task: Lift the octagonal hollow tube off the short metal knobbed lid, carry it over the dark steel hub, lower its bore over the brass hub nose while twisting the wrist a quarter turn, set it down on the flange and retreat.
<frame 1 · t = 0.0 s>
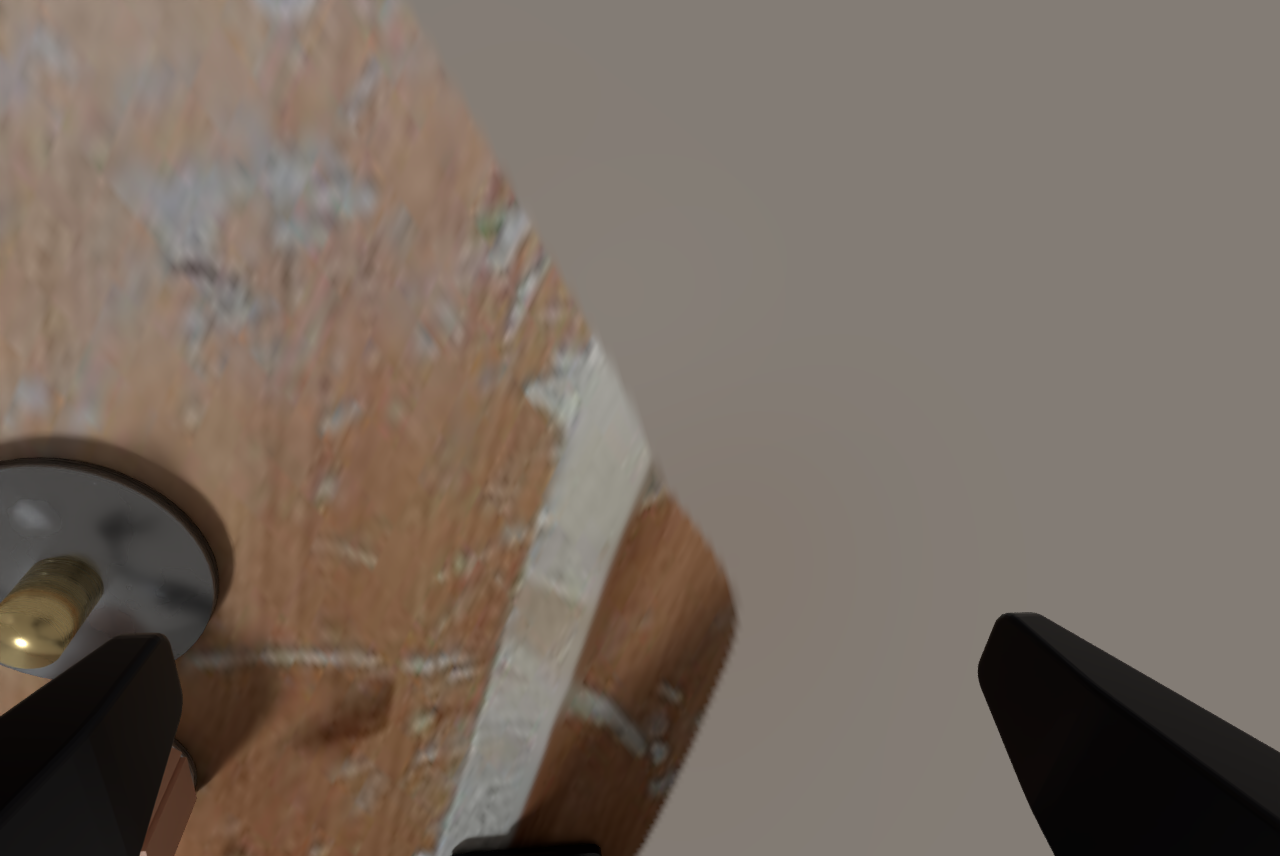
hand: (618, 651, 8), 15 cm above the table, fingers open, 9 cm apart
hub: (75, 571, 23), on the table
octagonal hollow tube: (99, 783, 27), resting on metal knobbed lid
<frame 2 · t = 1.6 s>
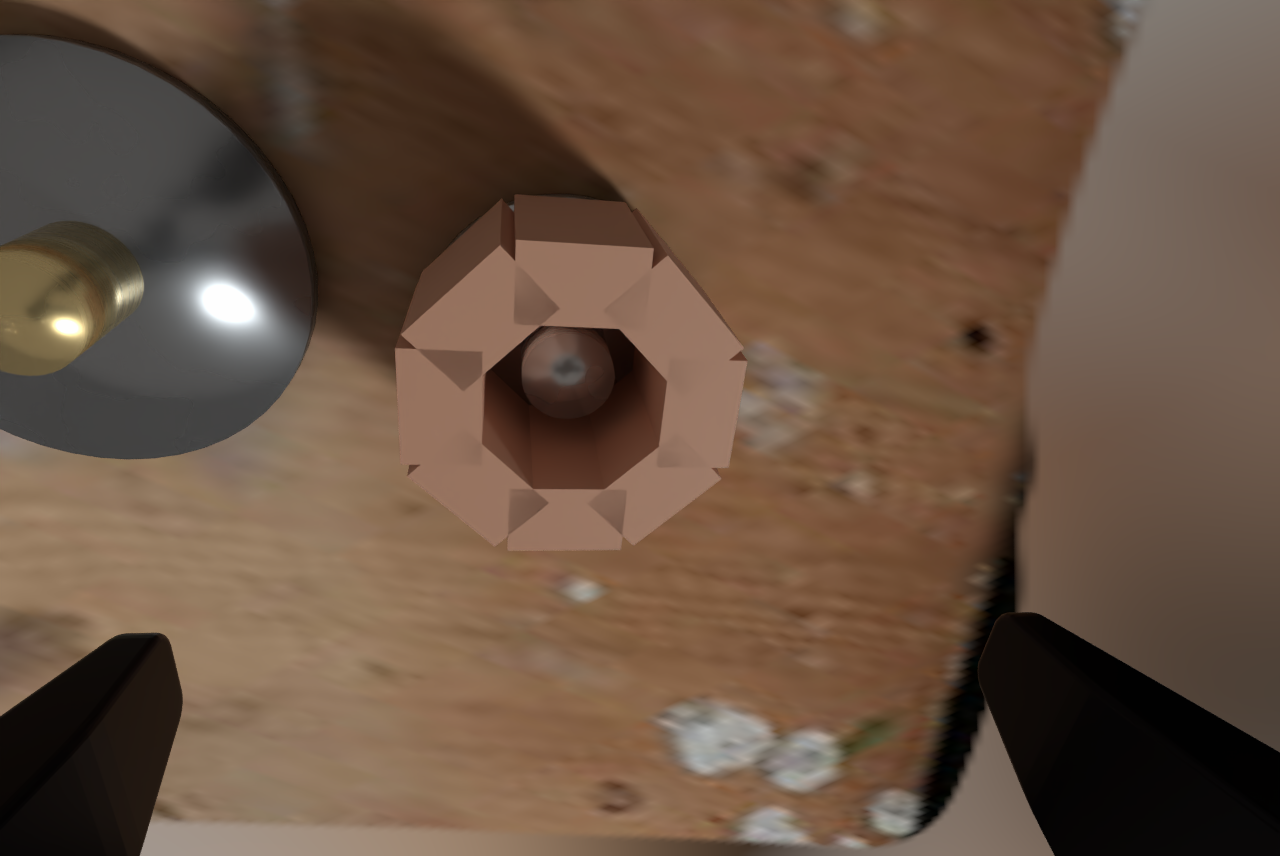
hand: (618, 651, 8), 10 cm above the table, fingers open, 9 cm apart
hub: (99, 265, 15), on the table
metal knobbed lid: (561, 333, 17), on the table
octagonal hollow tube: (562, 339, 17), resting on metal knobbed lid
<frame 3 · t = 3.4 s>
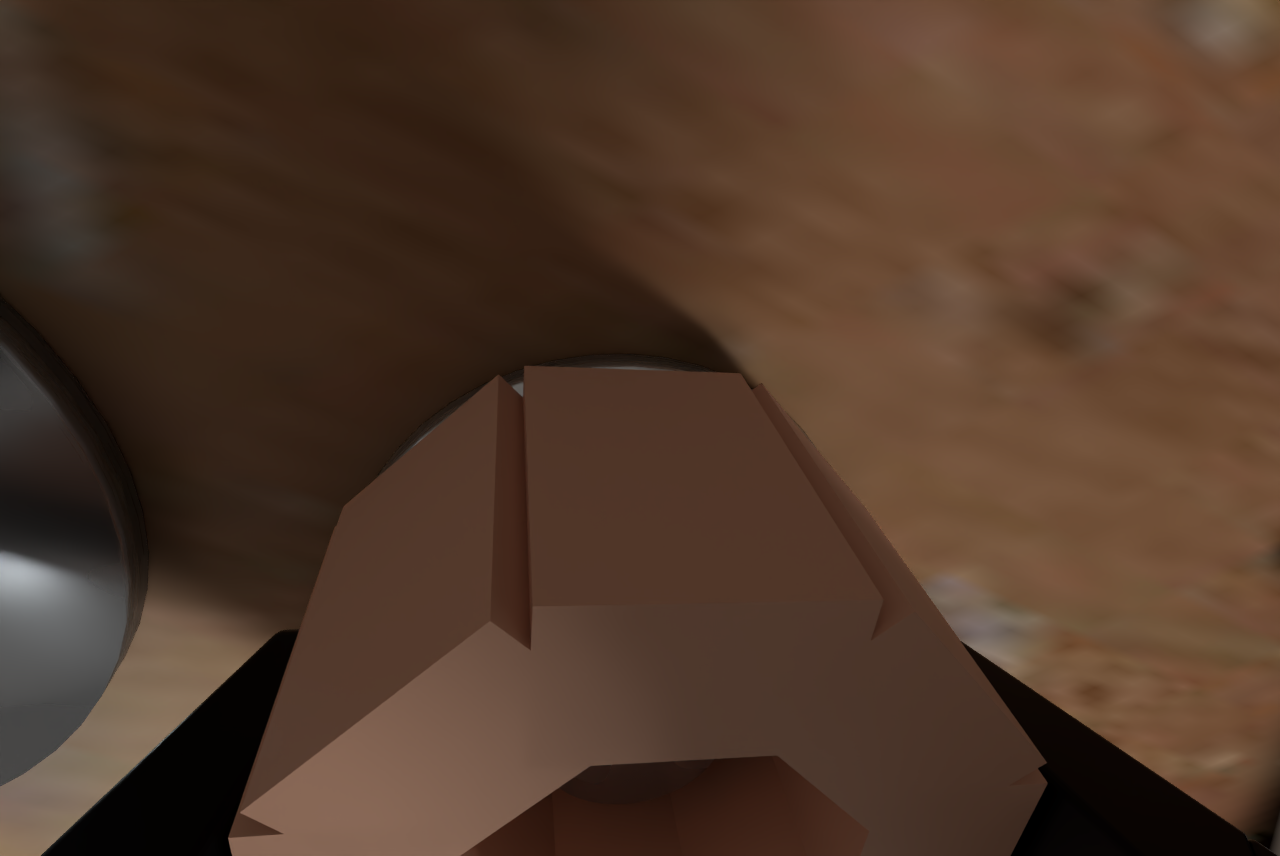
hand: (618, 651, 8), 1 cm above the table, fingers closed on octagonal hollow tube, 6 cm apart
metal knobbed lid: (606, 580, 9), on the table
octagonal hollow tube: (609, 602, 9), resting on metal knobbed lid, touching gripper
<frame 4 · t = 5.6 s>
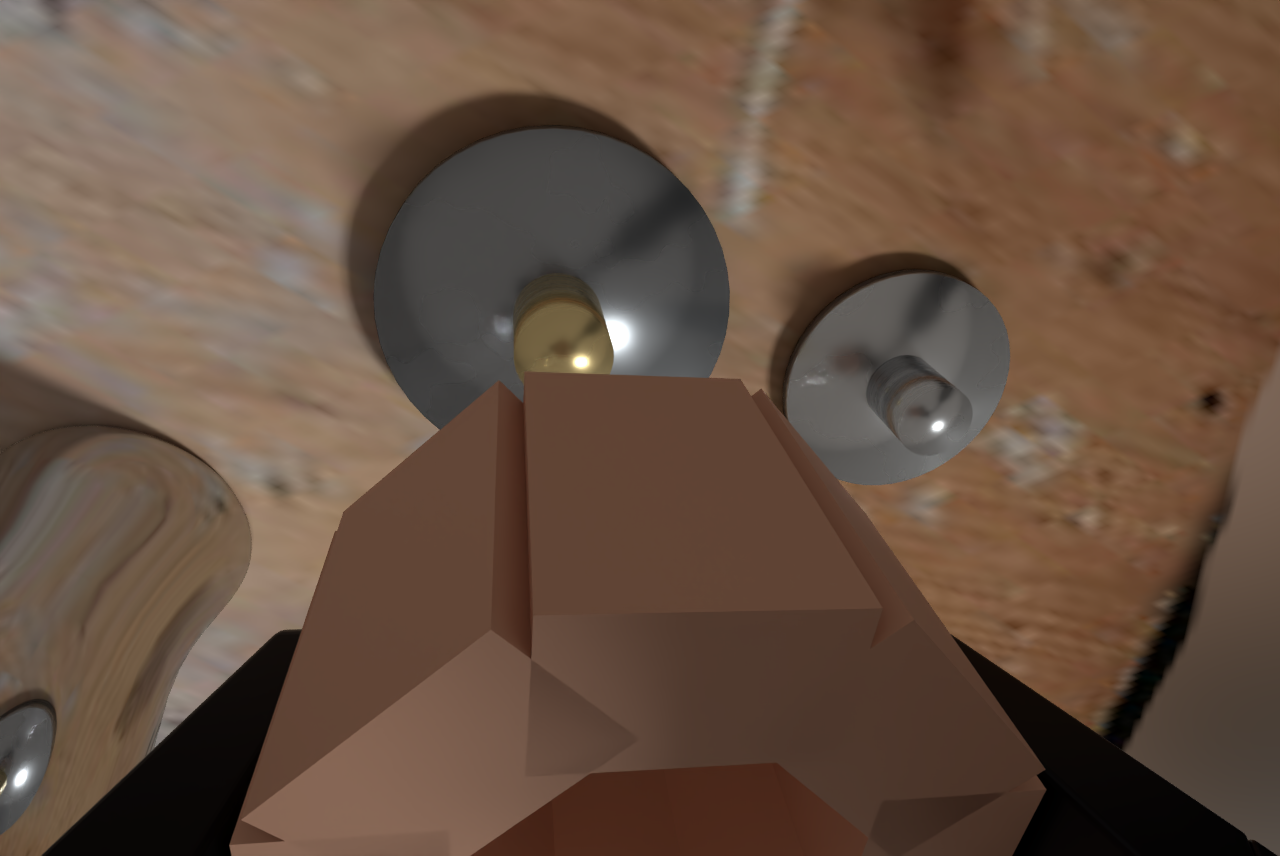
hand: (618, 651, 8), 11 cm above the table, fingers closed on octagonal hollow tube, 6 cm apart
hub: (556, 307, 18), on the table
metal knobbed lid: (892, 380, 20), on the table
octagonal hollow tube: (609, 606, 9), point 10 cm above the table, touching gripper
beer glass: (125, 526, 19), on the table
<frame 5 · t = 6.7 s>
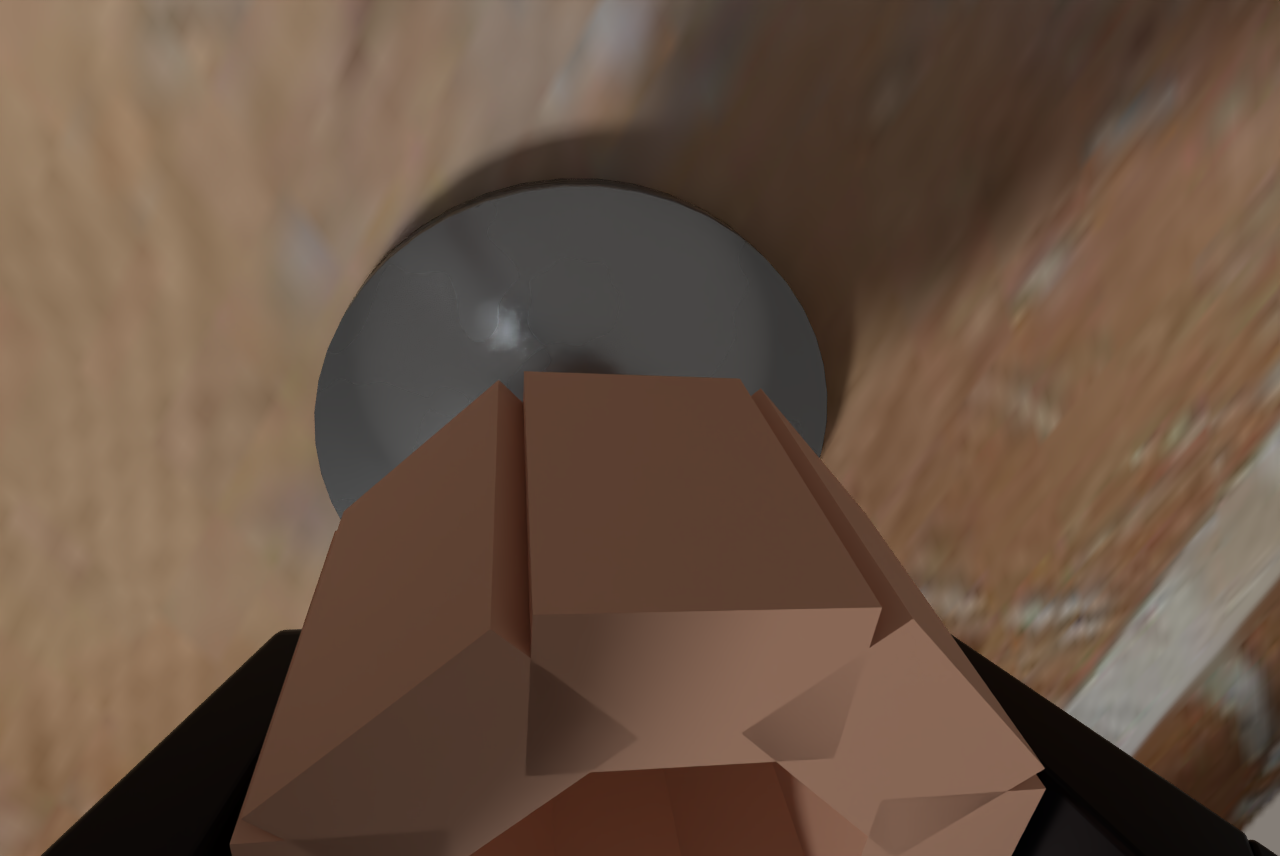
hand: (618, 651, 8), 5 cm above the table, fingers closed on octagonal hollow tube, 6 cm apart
hub: (580, 428, 13), on the table
octagonal hollow tube: (609, 606, 9), point 4 cm above the table, touching gripper
when the fingers open (2 cm above the table, at t = 7.8 s): octagonal hollow tube stays where it is, resting on hub.
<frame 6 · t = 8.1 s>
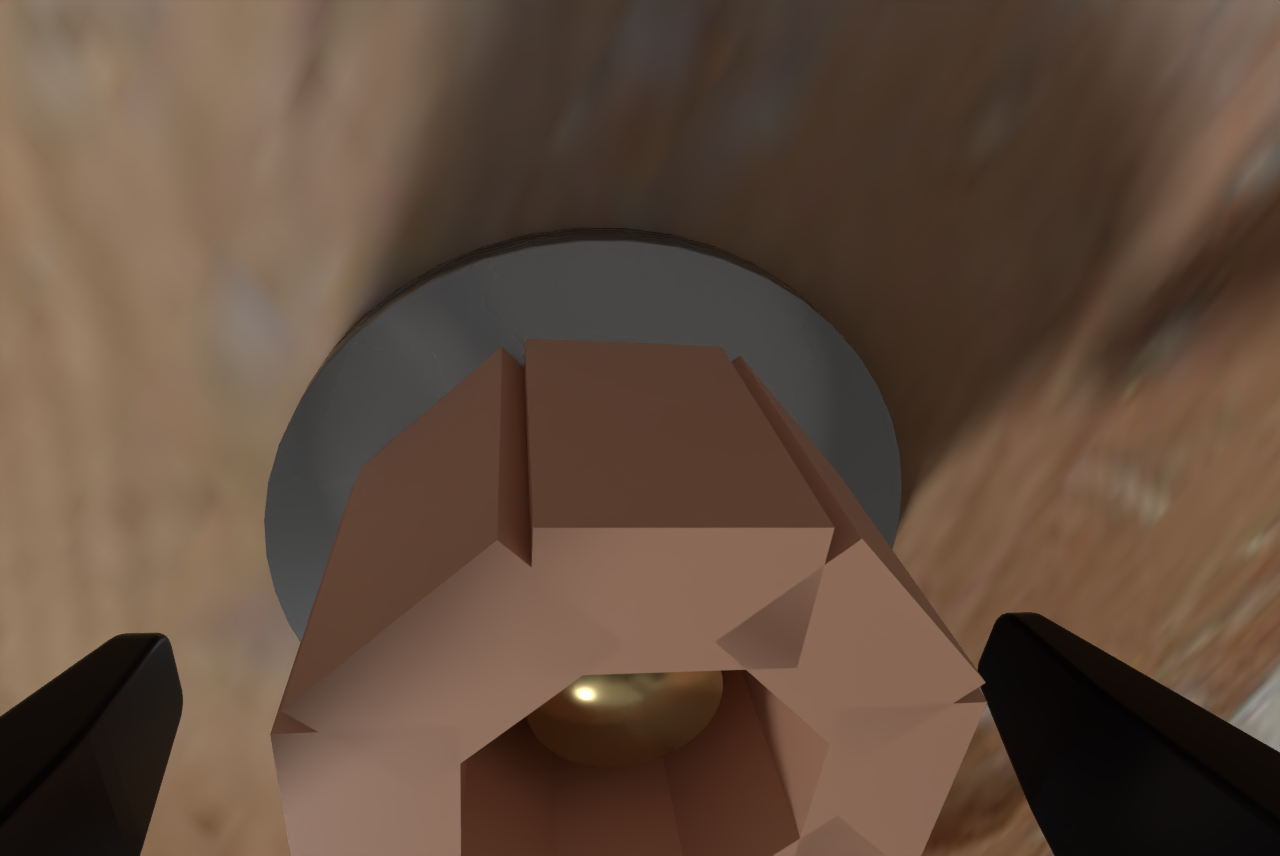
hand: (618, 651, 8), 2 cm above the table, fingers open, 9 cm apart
hub: (597, 525, 10), on the table
octagonal hollow tube: (603, 560, 10), point 1 cm above the table, touching hub
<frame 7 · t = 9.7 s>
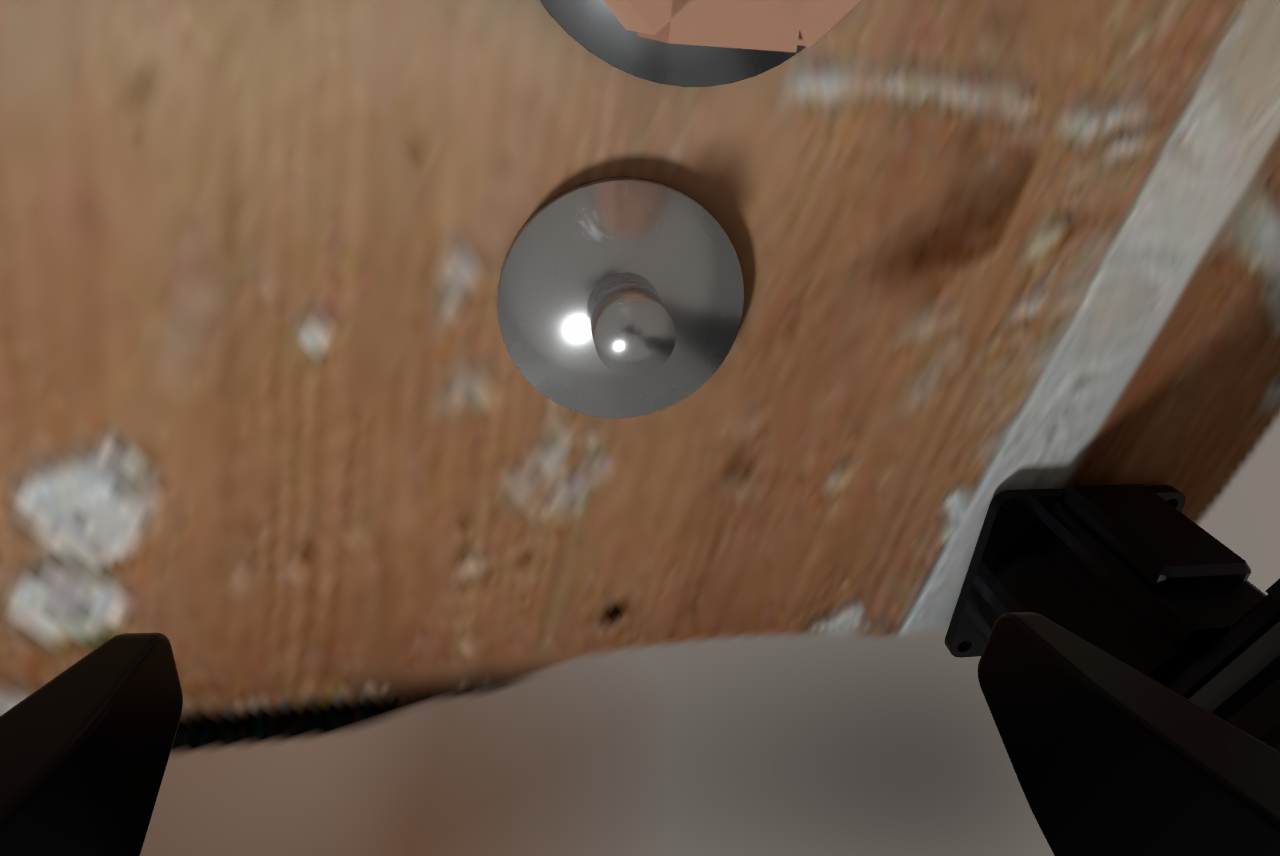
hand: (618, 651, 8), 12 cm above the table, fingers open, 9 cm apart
metal knobbed lid: (621, 302, 19), on the table
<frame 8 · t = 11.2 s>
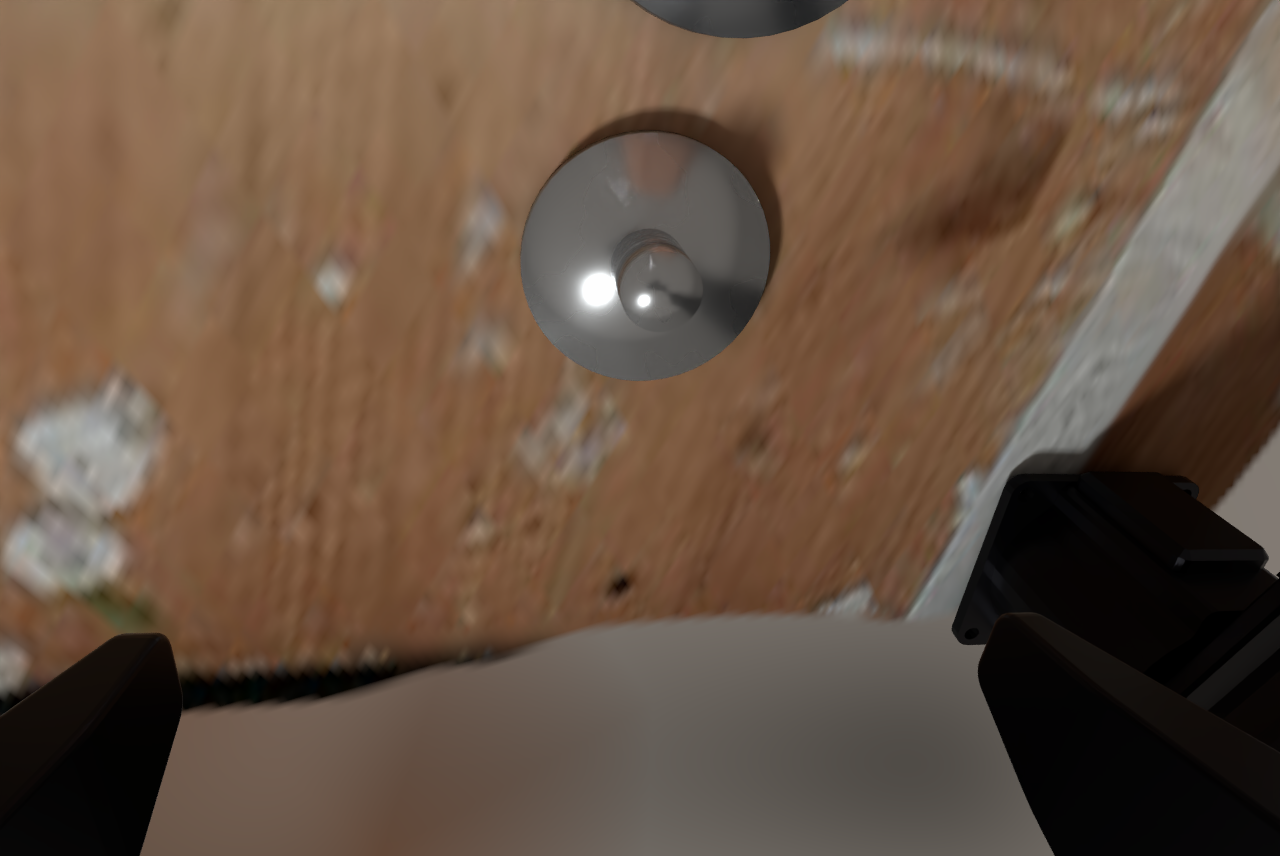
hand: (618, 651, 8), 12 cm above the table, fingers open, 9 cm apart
metal knobbed lid: (645, 261, 19), on the table
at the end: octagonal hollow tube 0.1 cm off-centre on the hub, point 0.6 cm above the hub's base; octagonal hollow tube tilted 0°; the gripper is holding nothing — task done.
